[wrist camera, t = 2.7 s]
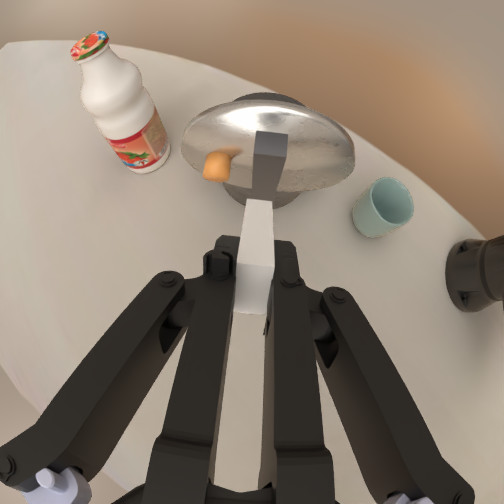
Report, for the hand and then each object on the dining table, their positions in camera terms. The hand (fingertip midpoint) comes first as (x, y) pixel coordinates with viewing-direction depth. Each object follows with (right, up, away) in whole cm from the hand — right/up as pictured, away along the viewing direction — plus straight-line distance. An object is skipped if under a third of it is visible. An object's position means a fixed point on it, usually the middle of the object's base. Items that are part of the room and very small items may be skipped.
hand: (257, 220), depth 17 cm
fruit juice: (-20, +17, +31) cm, 40 cm away
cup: (+20, +3, +29) cm, 35 cm away
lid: (+1, +8, +8) cm, 11 cm away
